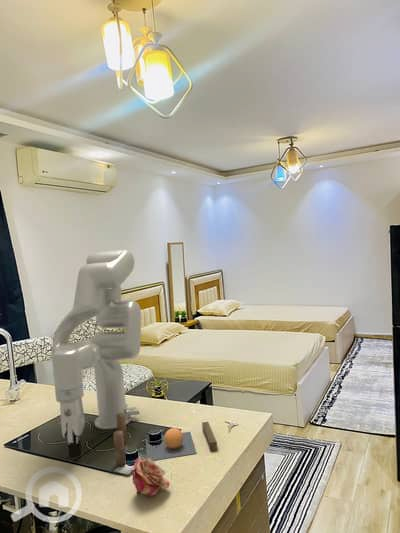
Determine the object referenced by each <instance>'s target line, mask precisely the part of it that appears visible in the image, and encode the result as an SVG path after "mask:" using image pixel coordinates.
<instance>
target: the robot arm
mask: <svg viewBox="0 0 400 533" xmlns="http://www.w3.org/2000/svg"><path fill="white" fill-rule="evenodd" d="M85 263H86V264H85V265H83V266H81V267H80V269H79V270H78V274H77V281H76V286H75V293H74V299H73V304H72V305H73V306H72V309H71V310H70V311H69V312H68V313H67V314H66V316H64V318H62V320H61V321H60V323H59V324H58V326H57V328H56V330H55V332H54V335H53V340H52V345H51V361H52V372H53V373H52V374H53V382H54V391H55V394H54V395H55V401H56V403H59V407H60V408H59V409H60V410H59V411H60V412H59V413H60V424H61V433H62V437H63V438H64V439H66V438H67V448H68V457H69V459H72V458H78V457H81V455H82V452H83V450H82V442H81V440H80V439H81V435H82V434H83V430H84V428H85V425H86V419H85V410H84V404H83V397H84V395H85V394H84V386H83V384H84V383H83V374H82V371H83V370H85V369H89V368H92V367H93V369H94V370H93V371H94V378H95V388H96V389H95V390H96V400H97V401H96V402H97V409H98V417H97V418H96V419H95V421H94V426H95V427H96V428H97V429H100V430H113V429H117V420H116V415H117V414H119V413H124V414H125V423H126V425H127V424H129V423H130V422H131V420H132V416H135V415H140V414H141V413H140V408H137V407H136V406H134V407H128V403H127V402H126V394H125V392H126V391H125V381H124V372H123V368H122V367H123V366H122V364H120V363H119V360H134V359H135V358H137V357H138V356H139V354H140V351H141V342H142V341H141V339H142V338H141V337H142V335H141V334H142V310H141V307H140V305H139V303H138V302H137V301H136V300H131V299H129V300H128V299H127V300H122V285H123V283H125V281H126V280H127V278H128V277H129V276H130V275H131V273H132V272H133V270H134V267H135V258H134V255H133V253H132V252H131V251H130V250H127V249H119V250H109V251H108V250H107V251H97V252H93V253H91V254H88V256H87V257H86V262H85ZM92 318H95V320H96V321H95V322H96V324H97V326H98V327H100V328H102V329H120V328H121V329H122V328H124V330H123V331H102V332H98V333H96V334H94V335H92V336H91V338H90V340H89V341H83V342H79V341H78V342H70V338H71V336H72V334H73V332H74V331H75V329H77V328H78V327H79V326H80V325H82V324H83V323H85V322H88V321H89V320H91V319H92Z"/></svg>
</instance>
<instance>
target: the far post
mask: <svg viewBox="0 0 400 533" xmlns="http://www.w3.org/2000/svg"><path fill="white" fill-rule="evenodd" d="M116 420H117V428H116V429H117V431H123V437H124V446H125V445H127V444H128V437H127V426H126V425H127V424H126V423H125V414H124V413H119V414H117V415H116Z"/></svg>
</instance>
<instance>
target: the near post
mask: <svg viewBox="0 0 400 533" xmlns="http://www.w3.org/2000/svg"><path fill="white" fill-rule="evenodd" d="M113 443H114V454H115V464H116V465H115V466H116V468H124V467H125V466H126V465H127V463H126V462H127V461H126V460H127V459H126V450H125V445H124V437H123V431H116V430H115V431H114V432H113ZM123 466H124V467H123Z"/></svg>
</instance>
